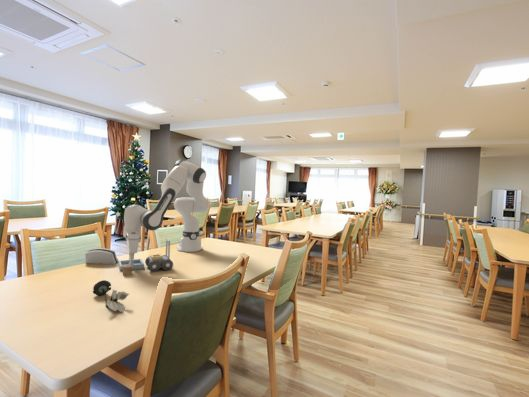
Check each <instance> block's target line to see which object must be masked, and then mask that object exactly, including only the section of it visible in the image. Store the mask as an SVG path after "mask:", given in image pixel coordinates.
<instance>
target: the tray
mask: <svg viewBox="0 0 529 397" xmlns="http://www.w3.org/2000/svg"><path fill="white" fill-rule="evenodd" d="M118 261H119V262H117V264H118V269H119V272H123V265H124V264H129V259H124V260H123V259H121V260H118ZM144 263H145V262H144V261H143V259H142V258H137V259H135V258H134V265H132V271H133V270H134V271H135V270H142V269H143V270H144V269H145V264H144Z"/></svg>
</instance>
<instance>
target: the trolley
mask: <svg viewBox="0 0 529 397" xmlns="http://www.w3.org/2000/svg"><path fill="white" fill-rule="evenodd" d="M170 253H171V240H170V239H168V238H165V254H160V253H157V254H156V253H154V254H150V256H148V257H146V259H145V262H144V263H145V266H147V269H148V271H150V273H151V272H152V273H156V272H158V271H160V268H162V270H163V271H170V270H171V269H172V268H173V267H174V262H173V261H172V260H171V256H170V255H171V254H170Z"/></svg>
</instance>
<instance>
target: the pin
mask: <svg viewBox="0 0 529 397" xmlns="http://www.w3.org/2000/svg"><path fill="white" fill-rule="evenodd" d="M134 259H135V258H134ZM134 259H130V253H129V252H128V260H129V264H131V265H134Z"/></svg>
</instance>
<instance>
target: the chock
mask: <svg viewBox="0 0 529 397" xmlns="http://www.w3.org/2000/svg"><path fill="white" fill-rule="evenodd" d="M121 272H122V276H124V277H125V276H133V270H132V265H131V264H124V265H123V271H121Z"/></svg>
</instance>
